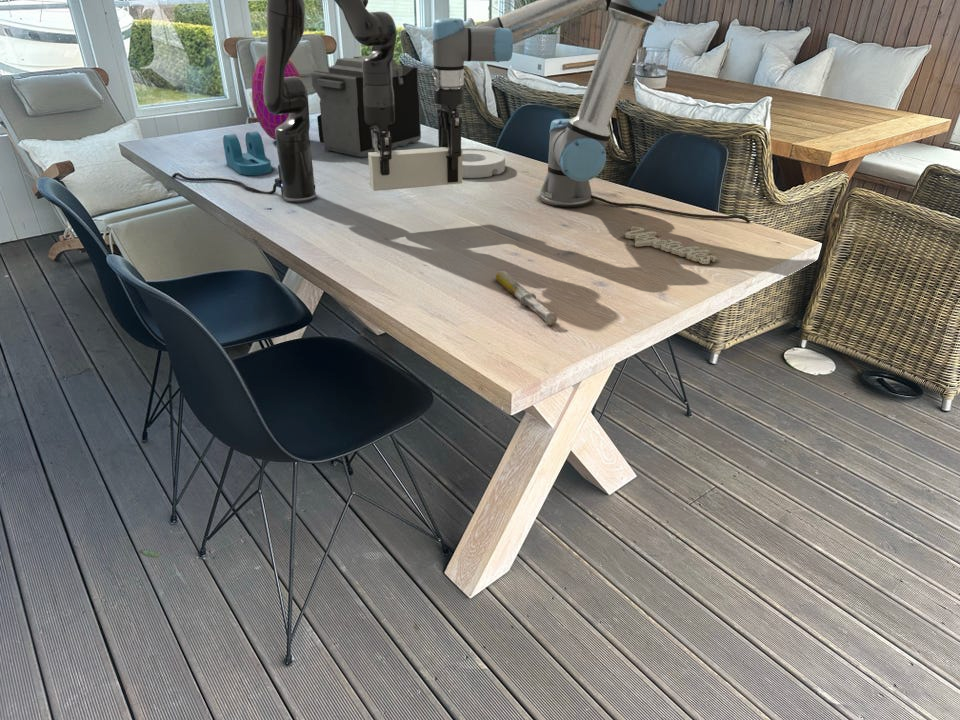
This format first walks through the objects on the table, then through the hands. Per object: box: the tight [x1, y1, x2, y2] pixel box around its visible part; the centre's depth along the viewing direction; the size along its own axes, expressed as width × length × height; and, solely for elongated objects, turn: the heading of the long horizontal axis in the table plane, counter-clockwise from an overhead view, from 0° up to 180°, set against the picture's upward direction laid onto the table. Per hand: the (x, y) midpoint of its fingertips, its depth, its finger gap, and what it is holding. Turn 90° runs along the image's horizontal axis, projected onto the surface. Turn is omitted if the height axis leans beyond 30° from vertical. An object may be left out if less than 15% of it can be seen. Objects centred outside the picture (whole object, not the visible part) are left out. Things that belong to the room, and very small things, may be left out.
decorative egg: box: [251, 55, 302, 141], centre depth 257 cm, size 19×19×30 cm
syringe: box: [495, 269, 558, 326], centre depth 143 cm, size 25×4×3 cm, turn 21°
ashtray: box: [461, 147, 506, 179], centre depth 231 cm, size 23×23×4 cm
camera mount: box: [222, 131, 272, 176], centre depth 226 cm, size 18×10×10 cm, turn 35°
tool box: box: [310, 55, 422, 159], centre depth 250 cm, size 37×22×30 cm, turn 144°
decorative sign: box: [624, 226, 717, 265], centre depth 170 cm, size 26×1×10 cm
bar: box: [367, 146, 463, 192], centre depth 180 cm, size 24×4×9 cm, turn 110°
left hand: (382, 172), depth 177 cm, fingers closed on bar, 4 cm apart
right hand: (449, 179), depth 184 cm, fingers closed on bar, 4 cm apart
